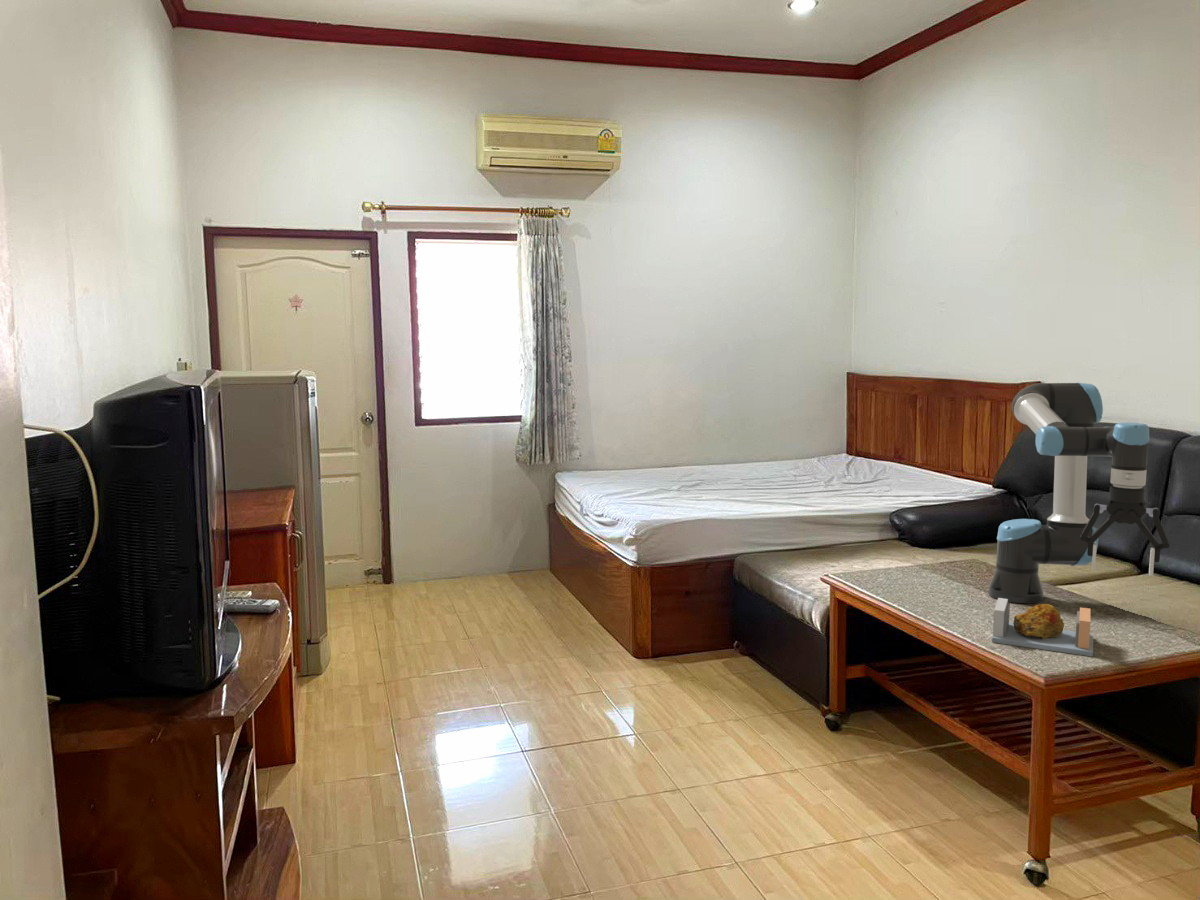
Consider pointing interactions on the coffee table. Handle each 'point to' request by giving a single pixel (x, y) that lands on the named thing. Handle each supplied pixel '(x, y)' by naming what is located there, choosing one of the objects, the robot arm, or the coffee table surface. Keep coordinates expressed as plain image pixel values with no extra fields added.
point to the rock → (1040, 622)
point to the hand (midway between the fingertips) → (1121, 571)
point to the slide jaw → (1083, 628)
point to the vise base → (1009, 635)
